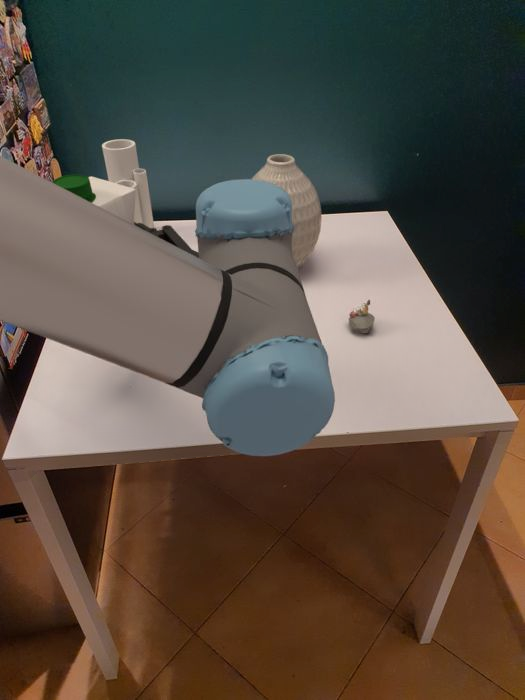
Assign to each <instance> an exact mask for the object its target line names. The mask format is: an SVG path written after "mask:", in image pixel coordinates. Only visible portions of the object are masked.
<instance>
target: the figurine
mask: <svg viewBox="0 0 525 700" xmlns="http://www.w3.org/2000/svg"><path fill="white" fill-rule="evenodd" d="M369 306H371V300H370V299H368V300H366V302H363V303H362V304H361V307H359V306H357V307H356V308H354V309H352V310H351V311H350V312H349V315H348V316H349V317H348V324H349V326H350V327H351V328H352V329H354V331H356V332H358V333H361V334H368V333H369V332H370V330H371V329H372V327H373V326H374V323H375V321H376V318H375V316H374V314H372V313H370V312H369Z"/></svg>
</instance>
